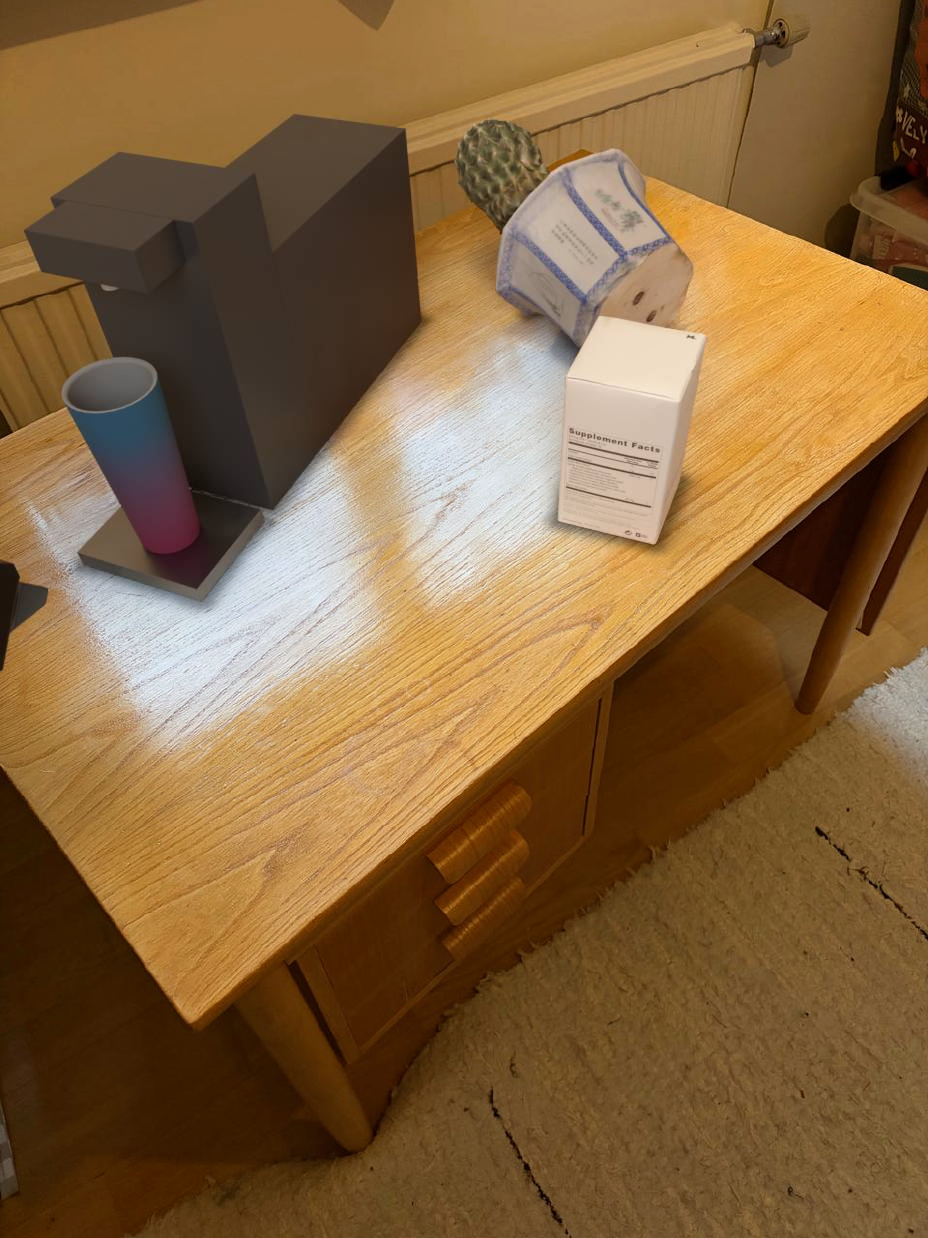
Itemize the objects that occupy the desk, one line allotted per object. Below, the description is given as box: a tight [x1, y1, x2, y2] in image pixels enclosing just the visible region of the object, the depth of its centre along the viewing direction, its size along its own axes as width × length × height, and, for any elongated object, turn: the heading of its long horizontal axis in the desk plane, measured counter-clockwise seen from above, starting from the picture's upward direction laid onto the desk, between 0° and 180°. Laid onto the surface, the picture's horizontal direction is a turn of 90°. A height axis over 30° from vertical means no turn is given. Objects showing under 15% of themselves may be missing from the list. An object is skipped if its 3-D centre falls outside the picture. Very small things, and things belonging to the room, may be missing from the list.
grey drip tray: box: [76, 489, 265, 602], centre depth 75 cm, size 10×12×2 cm
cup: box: [60, 357, 200, 554], centre depth 69 cm, size 7×7×15 cm
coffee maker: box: [23, 113, 422, 511], centre depth 78 cm, size 37×12×26 cm, turn 158°
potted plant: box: [453, 117, 694, 350], centre depth 91 cm, size 18×18×30 cm
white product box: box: [557, 316, 707, 545], centre depth 71 cm, size 9×9×15 cm
